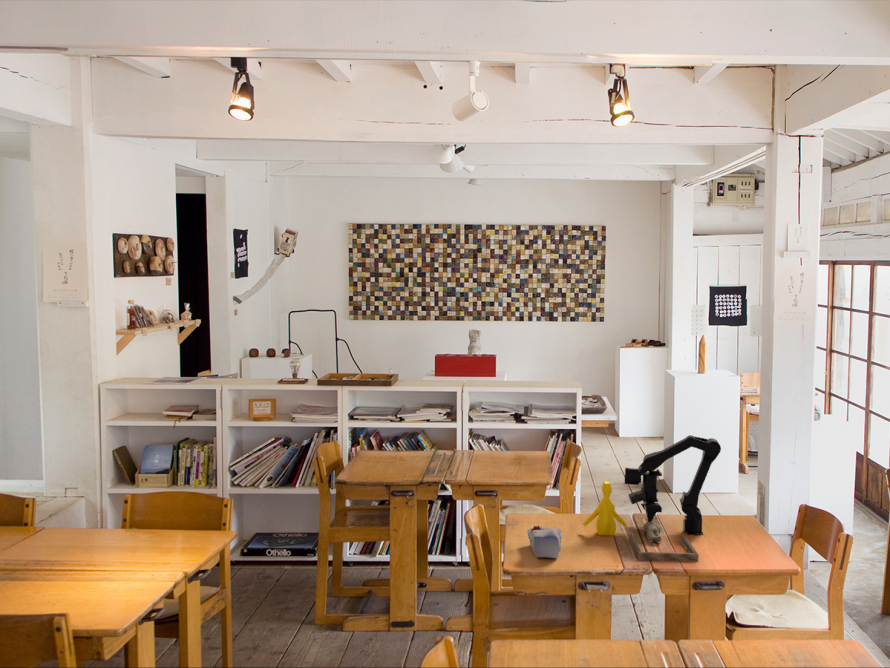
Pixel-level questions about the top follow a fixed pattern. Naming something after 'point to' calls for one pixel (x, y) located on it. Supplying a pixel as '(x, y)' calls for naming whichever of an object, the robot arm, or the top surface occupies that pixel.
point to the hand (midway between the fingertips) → (649, 522)
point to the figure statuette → (605, 514)
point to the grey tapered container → (545, 541)
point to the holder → (666, 556)
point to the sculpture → (652, 532)
